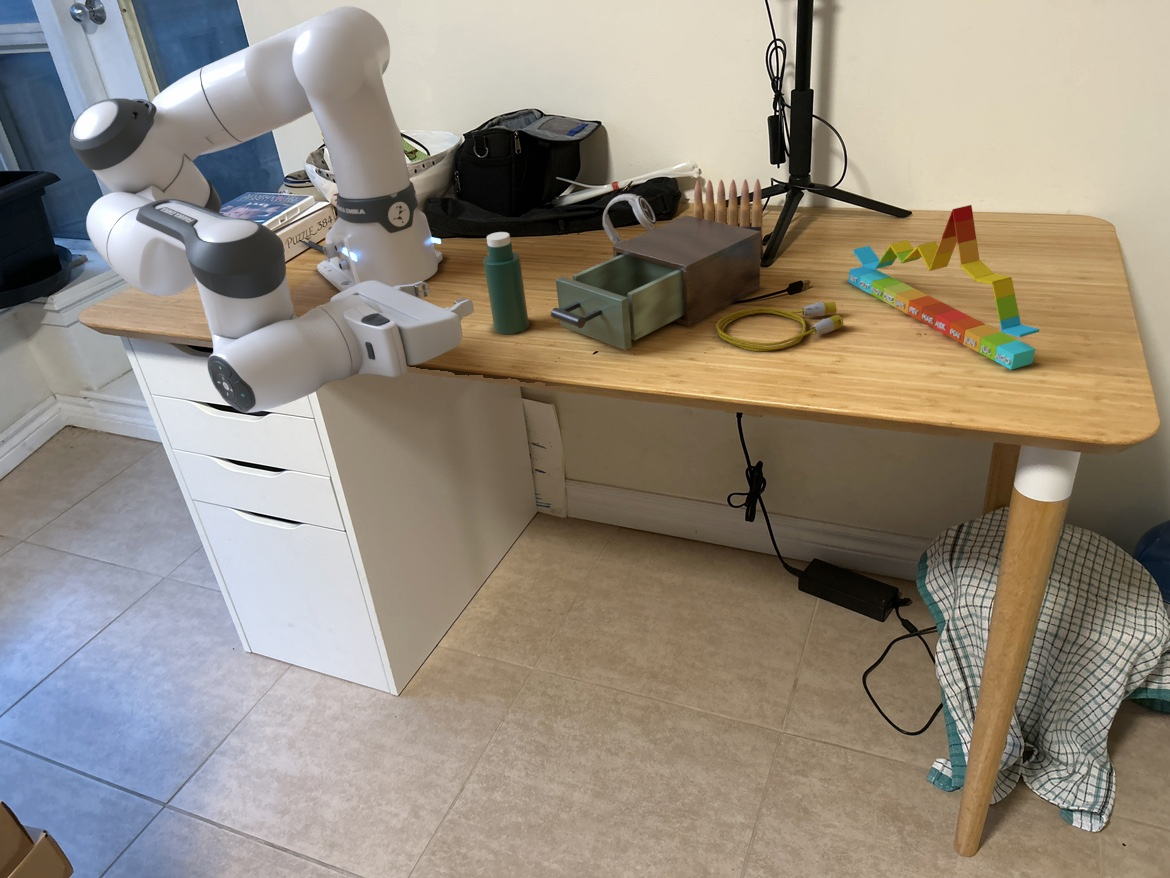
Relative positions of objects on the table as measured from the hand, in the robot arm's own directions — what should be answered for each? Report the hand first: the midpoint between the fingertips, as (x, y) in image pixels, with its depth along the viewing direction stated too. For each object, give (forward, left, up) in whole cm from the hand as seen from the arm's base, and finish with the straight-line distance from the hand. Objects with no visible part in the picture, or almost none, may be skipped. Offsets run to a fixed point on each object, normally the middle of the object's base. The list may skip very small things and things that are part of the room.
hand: (448, 295), depth 108 cm
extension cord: (+30, +29, -8) cm, 43 cm away
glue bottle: (0, +9, -8) cm, 12 cm away
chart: (+43, +43, -8) cm, 61 cm away
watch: (-2, +35, -8) cm, 36 cm away
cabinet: (+13, +31, -8) cm, 35 cm away
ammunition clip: (+8, +46, -8) cm, 48 cm away
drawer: (+13, +17, -7) cm, 23 cm away
